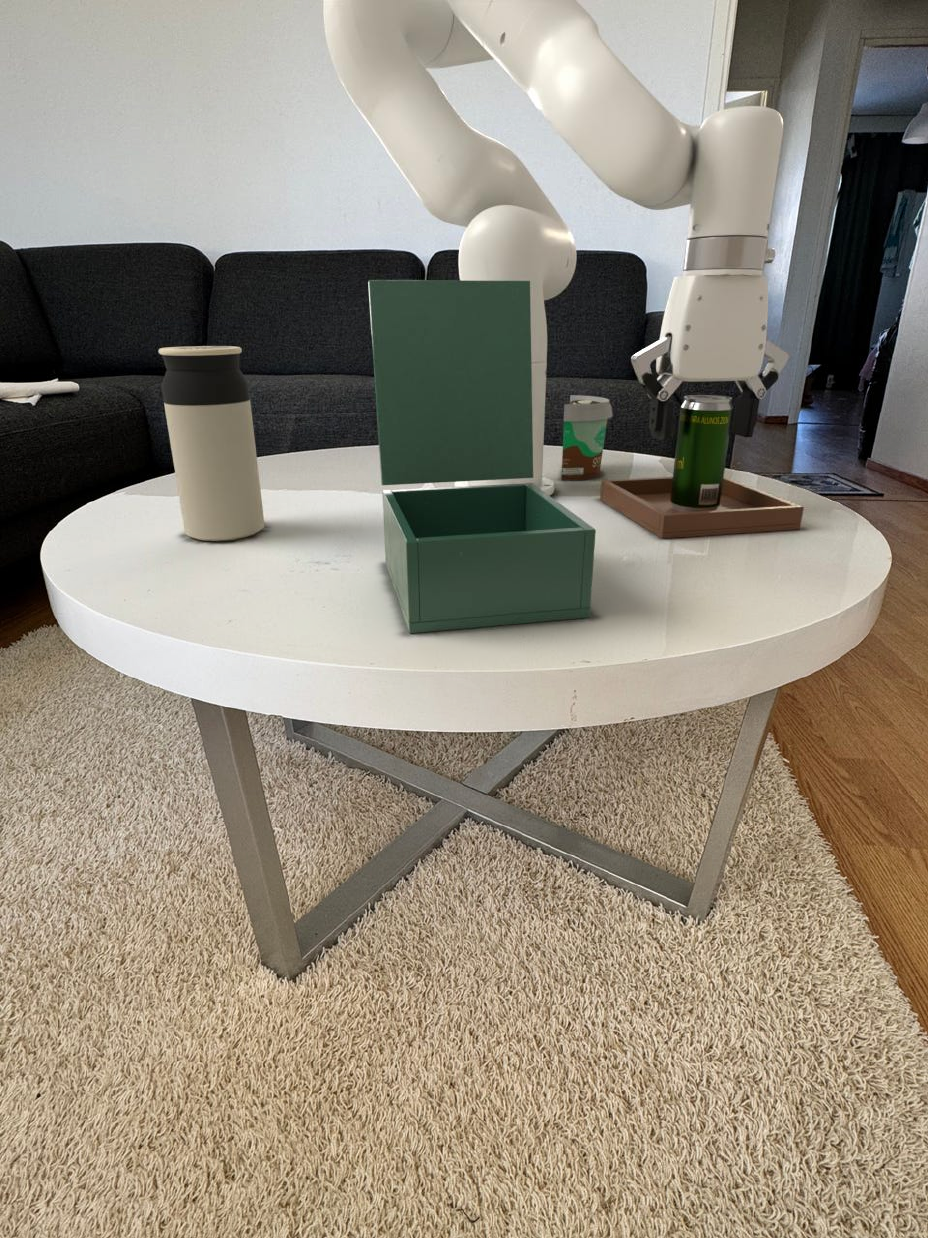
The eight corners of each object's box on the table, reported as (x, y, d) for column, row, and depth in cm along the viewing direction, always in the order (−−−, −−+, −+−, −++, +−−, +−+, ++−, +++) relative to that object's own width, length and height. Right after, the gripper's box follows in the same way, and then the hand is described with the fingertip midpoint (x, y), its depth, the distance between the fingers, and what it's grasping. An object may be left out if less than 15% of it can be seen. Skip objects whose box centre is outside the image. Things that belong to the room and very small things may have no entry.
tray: (599, 499, 87) (601, 480, 86) (717, 493, 90) (719, 474, 89) (661, 538, 72) (664, 515, 71) (800, 529, 75) (804, 506, 74)
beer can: (729, 511, 80) (746, 398, 75) (692, 516, 78) (706, 401, 73) (695, 500, 84) (709, 393, 79) (659, 505, 82) (670, 396, 77)
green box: (589, 617, 54) (596, 529, 51) (409, 633, 51) (406, 541, 49) (529, 554, 68) (532, 482, 65) (385, 564, 65) (382, 490, 63)
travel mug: (280, 526, 77) (261, 346, 70) (229, 546, 70) (202, 350, 63) (222, 518, 80) (198, 345, 73) (168, 536, 73) (136, 348, 66)
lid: (530, 280, 61) (514, 293, 66) (368, 279, 58) (364, 292, 63) (533, 477, 65) (518, 476, 69) (382, 485, 62) (377, 483, 67)
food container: (607, 484, 95) (613, 405, 91) (560, 482, 96) (564, 404, 92) (608, 466, 106) (614, 395, 102) (566, 464, 107) (570, 394, 103)
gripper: (779, 263, 76) (753, 429, 83) (626, 261, 73) (612, 434, 80) (825, 259, 69) (793, 439, 76) (659, 256, 66) (641, 445, 73)
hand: (701, 436), depth 78 cm, fingers open, 9 cm apart
